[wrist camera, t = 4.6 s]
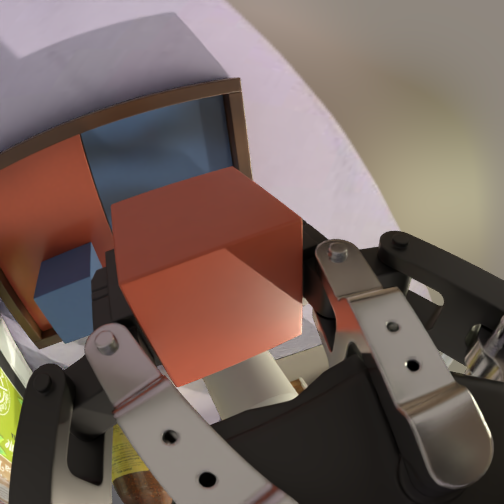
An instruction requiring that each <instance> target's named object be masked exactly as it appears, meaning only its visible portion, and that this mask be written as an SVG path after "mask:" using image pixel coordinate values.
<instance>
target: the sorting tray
mask: <svg viewBox="0 0 504 504" xmlns="http://www.w3.org/2000/svg"><path fill="white" fill-rule="evenodd" d="M241 91H242V88H241V80H240V78H226V79H219V80H213V81H208V82H202V83H197V84H192V85H187V86H182V87H178V88H173V89H169V90H165V91H161V92H157V93H153V94H149V95H145V96H142V97H138V98H134V99H131V100H128V101H124V102H121V103H118V104H115V105H111V106H108V107H105V108H102V109H99V110H96V111H94V112H91V113H88V114H85V115H83V116H80V117H77V118H75V119H72V120H70V121H67V122H65V123H62V124H60V125H57V126H55V127H53V128H50V129H48V130H46V131H43V132H41V133H39V134H37V135H35V136H32V137H30V138H28V139H26V140H24V141H22V142H20V143H18V144H16V145H14V146H12V147H10V148H8V149H6V150H4V151H3V152H1V153H0V298H1V299H2V301H3V302H4V304H5V305H6V306H7V308H8V309H9V311H10V312H11V314H12V315H13V316H14V318H15V319H16V321H17V322H18V323H19V325H20V326H21V327H22V329H23V330H24V331H25V332H26V334H27V335H28V336H29V338H30V339H31V340H32V341H33V342H34V344H35V345H36V346H37V347H38V349H42V348H45V347H47V346H50V345H53V344H56V343H59V342H62V339H61V338H60V337H59V335H58V334H57V333H56V331H55V330H54V328H53V327H52V326H51V324H50V323H49V321H48V320H47V319H46V317H45V316H44V314H43V313H42V311H41V310H40V308H39V307H38V305H37V304H36V302H35V301H34V299H33V298H34V293H35V288H36V283H37V279H38V275H39V270H40V266H41V262H43V261H45V260H48V259H50V258H52V257H55V256H57V255H60V254H62V253H64V252H67V251H69V250H72V249H74V248H77V247H79V246H82V245H84V244H87V243H90V242H91V243H92V245H93V247H94V249H95V252H96V254H97V256H98V258H99V261H100V263H101V265H102V267H103V268H104V267H106V261H105V252H106V251H109V250H111V249H114V242H113V231H112V217H111V205H112V204H114V203H117V202H120V201H122V200H125V199H128V198H131V197H134V196H137V195H139V194H142V193H145V192H148V191H151V190H154V189H157V188H160V187H163V186H167V185H170V184H173V183H176V182H179V181H182V180H186V179H189V178H192V177H196V176H199V175H202V174H206V173H209V172H213V171H216V170H220V169H224V168H227V167H231V166H233V167H234V168H236V169H237V170H239V171H240V172H241V173H243V174H244V175H245V176H247V177H248V178H249V179H251V180H252V181H253V179H252V170H251V162H250V153H249V145H248V137H247V129H246V120H245V112H244V104H243V96H242V92H241Z"/></svg>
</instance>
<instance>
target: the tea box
mask: <svg viewBox="0 0 504 504" xmlns="http://www.w3.org/2000/svg"><path fill="white" fill-rule="evenodd" d="M32 374H33V372H32V371H31V369H30V368H29V366H28V365H27V363H26V361H25V360H24V357H23V355H22V354H21V352H20V350H19V349H18V347H17V346H16V344H15V342H14V340H13V338H12V336H11V334H10V332H9V330H8V328H7V326H6V324H5V322H4V320H3V319H2V317H1V314H0V504H8V501H9V485H10V474H11V465H12V457H13V450H14V443H15V437H16V432H17V426H18V421H19V416H20V412H21V407H22V403H23V398H24V394H25V390H26V387H27V383H28V380H29V378H30V376H31V375H32Z"/></svg>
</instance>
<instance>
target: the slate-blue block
mask: <svg viewBox="0 0 504 504" xmlns="http://www.w3.org/2000/svg"><path fill="white" fill-rule="evenodd" d="M101 268H103V267H102V265H101V263H100V261H99V258H98V256H97V254H96V252H95V249H94V247H93V245H92V243H91V242H90V243H87V244H84V245H82V246H79V247H77V248H74V249H72V250H69V251H67V252H64V253H62V254H60V255H57V256H55V257H52V258H50V259H48V260H45V261H43V262H41V266H40V270H39V275H38V279H37V283H36V288H35V293H34V298H33V299H34V301H35V302H36V304H37V305H38V307H39V308H40V310H41V311H42V313H43V314H44V316H45V317H46V319H47V320H48V321H49V323H50V324H51V326H52V327H53V328H54V330H55V331H56V333H57V334H58V335H59V337H60V338H61V339H62V341H63V342H64V343H65V344H66V343H69V342H72V341H75V340H77V339H80V338H83V337H86V336H89V335H91V333H92V332H93V319H92V297H91V293H92V292H91V280H92V278H93V276H94V274H95V272H96V270H98V269H101Z"/></svg>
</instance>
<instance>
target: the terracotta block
mask: <svg viewBox="0 0 504 504" xmlns="http://www.w3.org/2000/svg"><path fill="white" fill-rule="evenodd" d="M111 217H112V231H113V242H114V252H115V261H116V270H117V277H118V285H119V287H120V289H121V291H122V293H123V295H124V297H125V299H126V301H127V303H128V305H129V307H130V309H131V311H132V313H133V314H134V316H135V318H136V320H137V322H138V324H139V326H140V327H141V329H142V331H143V333H144V335H145V336H146V338H147V340H148V342H149V343H150V345H151V347H152V349H153V350H154V352H155V354H156V355H157V357H158V359H159V360H160V362H161V364H162V365H163V367H164V369H165V370H166V372H167V374H168V375H169V377H170V378H171V380H172V381H173V383H174V385H175V386H176V387H180V386H183V385H185V384H188V383H191V382H193V381H196V380H198V379H201V378H204V377H206V376H209V375H211V374H214V373H216V372H219V371H221V370H223V369H226V368H228V367H231V366H233V365H235V364H238V363H240V362H242V361H245V360H247V359H249V358H251V357H254V356H256V355H258V354H260V353H263V352H265V351H267V350H269V349H271V348H274V347H276V346H278V345H280V344H282V343H284V342H286V341H288V340H290V339H293V338H295V337H297V336H299V335H301V334H302V299H303V230H302V218H301V217H300V216H298V215H297V214H296V213H295V212H293V211H292V210H291V209H289V208H288V207H287V206H286V205H284V204H283V203H282V202H280V201H279V200H278V199H276V198H275V197H274V196H272V195H271V194H270V193H268V192H267V191H266V190H264V189H263V188H262V187H260V186H259V185H258V184H256V183H255V182H254V181H252V180H251V179H249V178H248V177H247V176H245V175H244V174H243V173H241V172H240V171H239V170H237V169H236V168H234V167H233V166H231V167H227V168H224V169H220V170H216V171H213V172H209V173H206V174H202V175H199V176H196V177H192V178H189V179H186V180H182V181H179V182H176V183H173V184H170V185H167V186H163V187H160V188H157V189H154V190H151V191H148V192H145V193H142V194H139V195H137V196H134V197H131V198H128V199H125V200H122V201H120V202H117V203H114V204H112V205H111Z"/></svg>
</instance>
